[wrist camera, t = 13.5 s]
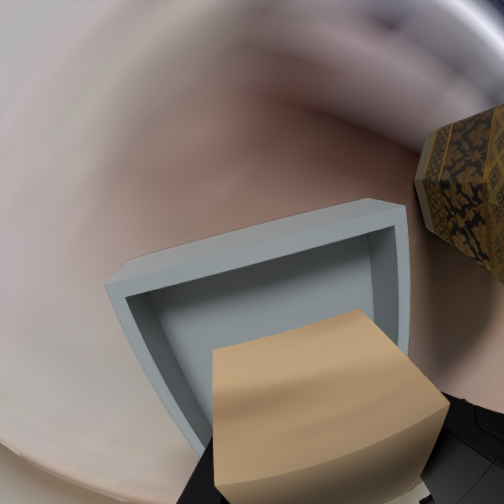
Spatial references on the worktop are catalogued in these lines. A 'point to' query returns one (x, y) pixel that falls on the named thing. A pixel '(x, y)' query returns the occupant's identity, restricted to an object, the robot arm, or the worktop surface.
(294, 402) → the block
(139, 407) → the worktop surface
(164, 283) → the tray
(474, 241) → the ceramic cup
